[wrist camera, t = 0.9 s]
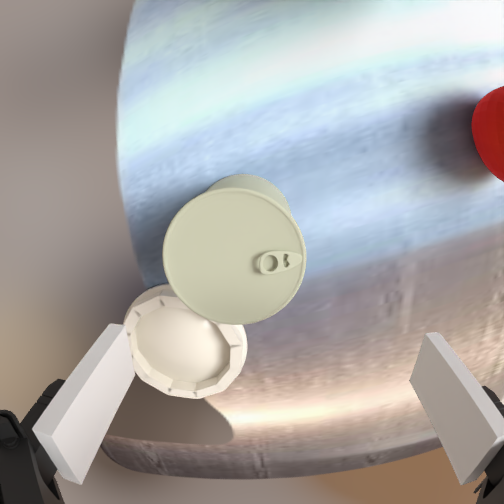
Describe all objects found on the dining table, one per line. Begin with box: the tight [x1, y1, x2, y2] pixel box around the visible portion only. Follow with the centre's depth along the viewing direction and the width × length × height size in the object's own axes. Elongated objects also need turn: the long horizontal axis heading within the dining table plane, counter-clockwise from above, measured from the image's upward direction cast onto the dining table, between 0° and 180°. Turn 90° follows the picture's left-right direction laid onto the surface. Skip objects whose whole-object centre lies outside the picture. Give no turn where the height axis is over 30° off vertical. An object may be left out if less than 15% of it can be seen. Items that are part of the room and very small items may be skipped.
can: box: [162, 174, 306, 325], centre depth 25 cm, size 9×9×12 cm
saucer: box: [123, 283, 247, 399], centre depth 34 cm, size 14×14×2 cm
